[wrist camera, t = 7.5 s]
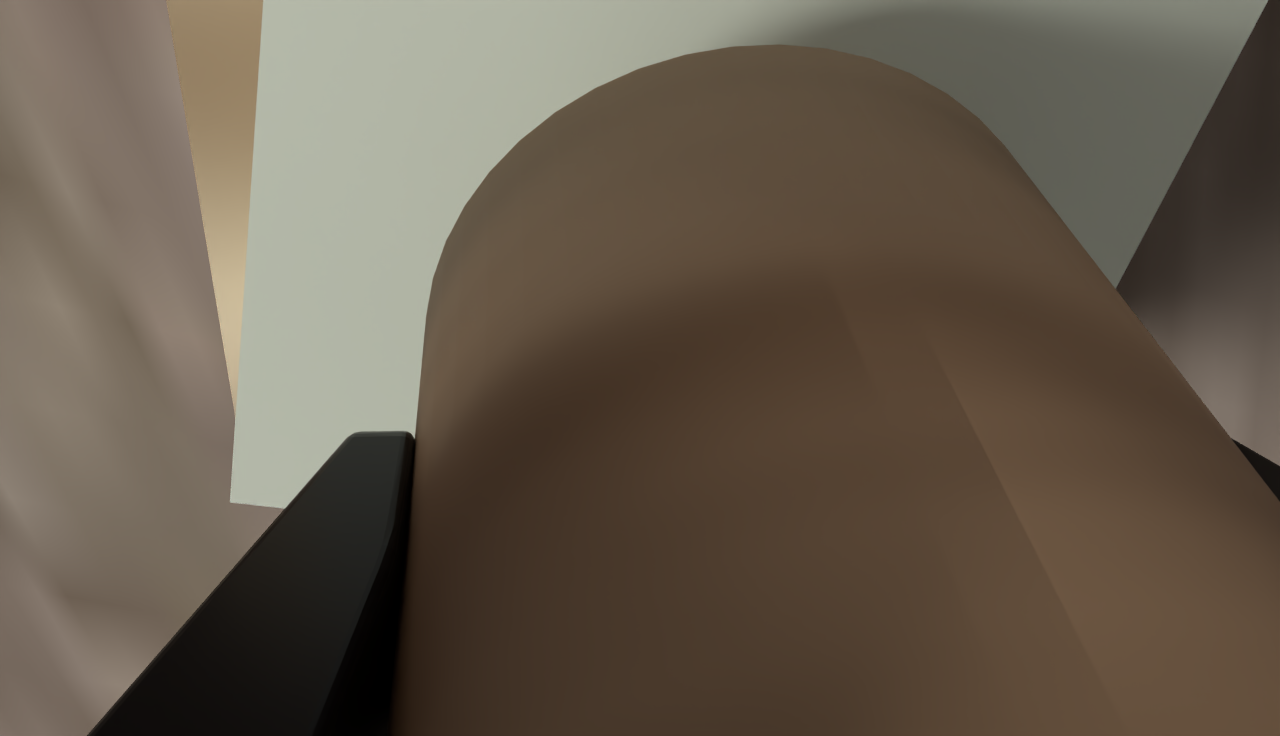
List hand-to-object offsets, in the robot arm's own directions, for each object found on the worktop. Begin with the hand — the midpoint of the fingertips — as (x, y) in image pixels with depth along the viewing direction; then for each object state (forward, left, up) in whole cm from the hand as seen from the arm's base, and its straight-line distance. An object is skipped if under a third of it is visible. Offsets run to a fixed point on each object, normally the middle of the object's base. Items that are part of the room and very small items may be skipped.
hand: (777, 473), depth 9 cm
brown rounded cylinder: (0, 0, -2) cm, 2 cm away
